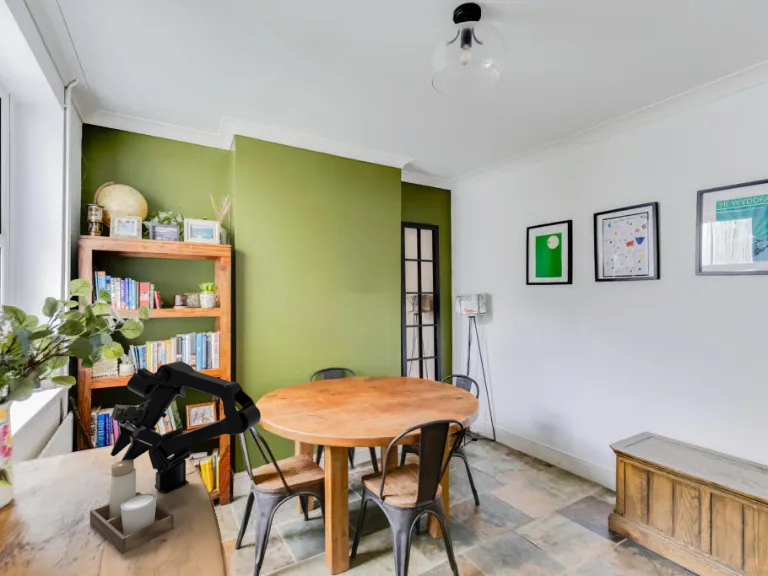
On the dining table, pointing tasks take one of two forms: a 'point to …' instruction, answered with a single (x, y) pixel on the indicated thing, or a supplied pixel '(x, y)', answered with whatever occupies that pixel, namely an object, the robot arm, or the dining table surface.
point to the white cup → (138, 512)
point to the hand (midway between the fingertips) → (116, 460)
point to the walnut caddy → (134, 539)
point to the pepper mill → (121, 485)
